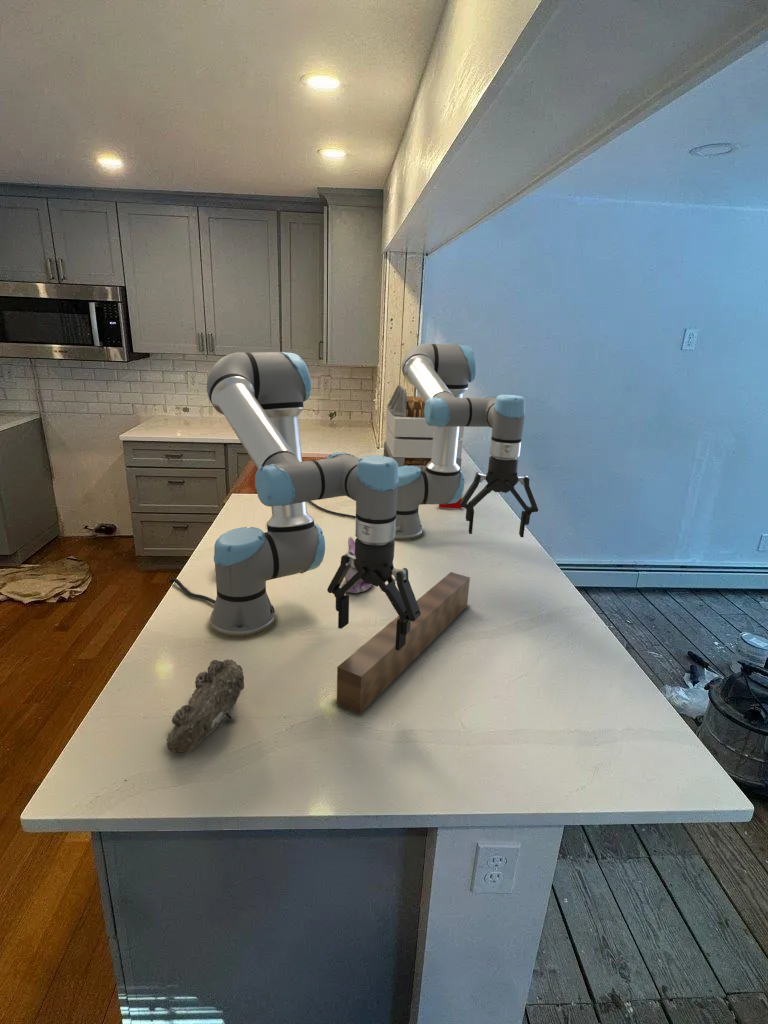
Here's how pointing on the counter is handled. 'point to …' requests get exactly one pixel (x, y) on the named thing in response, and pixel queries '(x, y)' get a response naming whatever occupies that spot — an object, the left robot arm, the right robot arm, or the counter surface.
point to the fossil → (206, 705)
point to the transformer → (410, 431)
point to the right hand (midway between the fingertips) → (495, 534)
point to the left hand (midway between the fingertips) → (371, 636)
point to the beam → (378, 656)
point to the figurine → (352, 571)
